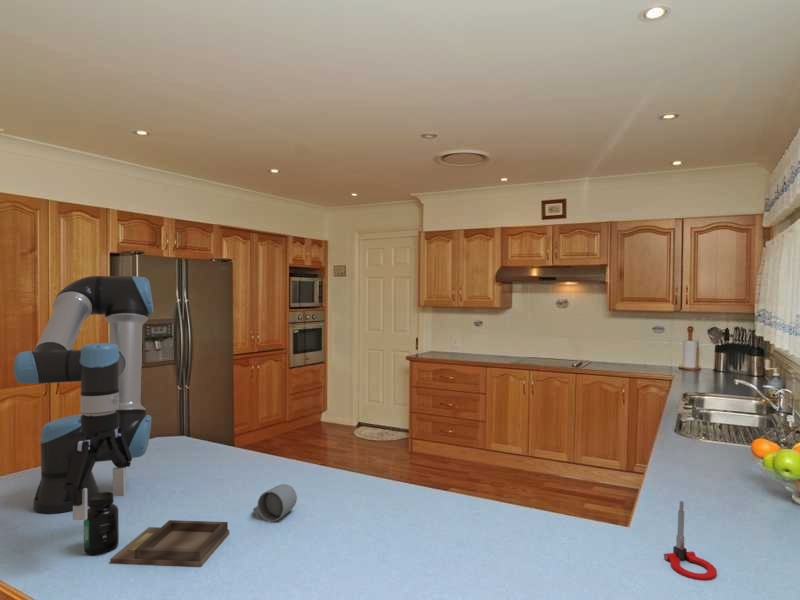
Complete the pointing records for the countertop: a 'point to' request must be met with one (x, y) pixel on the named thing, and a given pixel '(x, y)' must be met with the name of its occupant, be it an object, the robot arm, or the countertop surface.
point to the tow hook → (687, 554)
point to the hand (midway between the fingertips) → (100, 506)
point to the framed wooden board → (174, 544)
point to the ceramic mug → (276, 502)
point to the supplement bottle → (101, 525)
